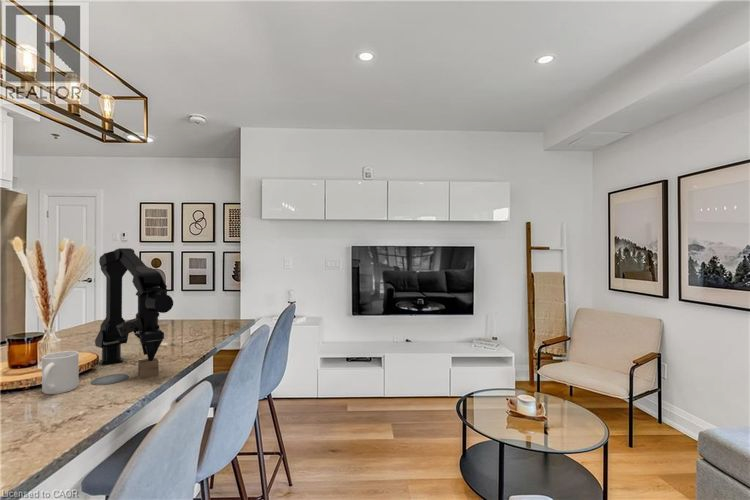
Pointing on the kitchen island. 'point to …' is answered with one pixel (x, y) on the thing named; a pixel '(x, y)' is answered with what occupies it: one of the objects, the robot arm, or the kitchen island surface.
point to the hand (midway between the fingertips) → (148, 357)
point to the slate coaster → (109, 379)
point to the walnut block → (147, 368)
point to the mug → (60, 372)
